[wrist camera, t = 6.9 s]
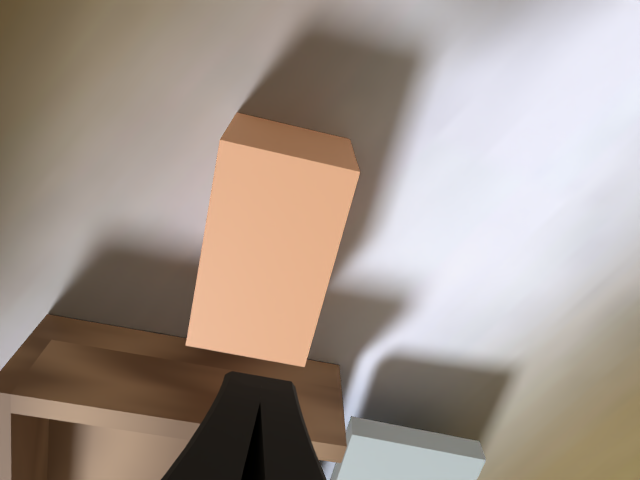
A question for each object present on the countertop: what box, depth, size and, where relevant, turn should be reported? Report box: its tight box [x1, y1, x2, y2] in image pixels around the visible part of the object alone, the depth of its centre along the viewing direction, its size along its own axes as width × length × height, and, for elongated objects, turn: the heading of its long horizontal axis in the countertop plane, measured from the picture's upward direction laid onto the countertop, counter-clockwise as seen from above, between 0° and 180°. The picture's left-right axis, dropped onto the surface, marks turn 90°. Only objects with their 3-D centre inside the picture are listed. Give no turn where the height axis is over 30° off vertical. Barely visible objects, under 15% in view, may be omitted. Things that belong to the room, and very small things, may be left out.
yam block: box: [186, 113, 360, 367], centre depth 18 cm, size 4×7×4 cm, turn 166°
